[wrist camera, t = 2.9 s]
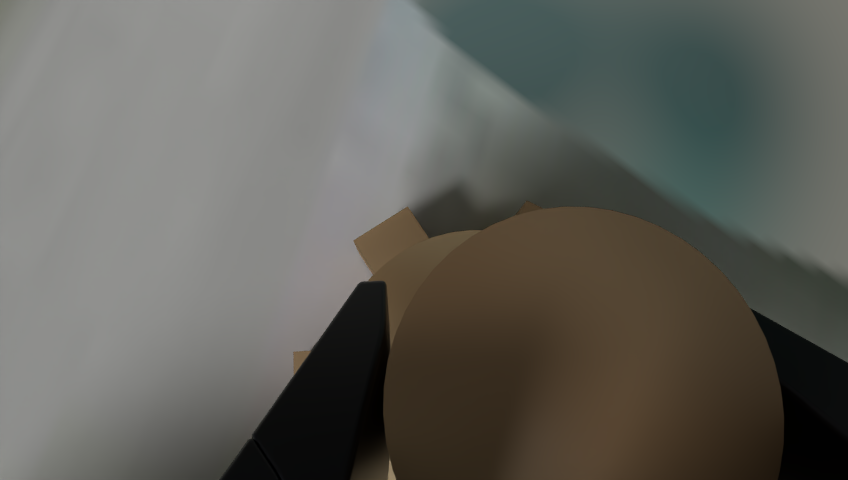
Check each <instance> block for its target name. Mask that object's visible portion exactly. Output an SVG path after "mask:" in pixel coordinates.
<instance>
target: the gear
mask: <svg viewBox="0 0 848 480" xmlns="http://www.w3.org/2000/svg"><path fill="white" fill-rule="evenodd" d="M354 243H355V245H356V247H357V250H358V252H359V254H360V255H361V257H362V258H363V260H364V262H365V263H366V265H367V266H368V268H369V269H370V271H371V272H372V274H373V276H372V277H371V278H370V279H369V281H384V282H385V283H386V285H387V296H388V309H389V324H390V346H391V351H390V354H389V358H388V362H387V369H386V376H385V383H384V403H383V417H384V426H385V436H386V444H387V448H388V452H389V456H390V462H389V472H388V480H778V476H779V472H780V467H781V460H782V452H783V445H784V411H783V402H782V394H781V387H780V383H779V379H778V374H777V370H776V366H775V362H774V359H773V357H772V354H771V351H770V349H769V346H768V343H767V340H766V338H765V336H764V334H763V332H762V330H761V328H760V326H759V324H758V322H757V320H756V318H755V316H754V314H753V312H752V311H751V309H750V308H749V306H748V305H747V303H746V302H745V300H744V299H743V297H742V296H741V294H740V293H739V292H738V290H737V289H736V288H735V287H734V286H733V284H732V283H731V282H730V281H729V280H728V279H727V277H726V276H725V275H724V274H723V273H722V272H721V271H720V270H719V269H718V268H717V267H716V266H715V265H714V264H713V263H712V262H711V261H710V260H708V259H707V258H706V257H705V256H704V255H703V254H702V253H701V252H699V251H698V250H696V249H695V248H694V247H692V246H691V245H690V244H688V243H687V242H685V241H684V240H683V239H681V238H679V237H678V236H676V235H674V234H672V233H670V232H669V231H667V230H665V229H663V228H661V227H660V226H657V225H655V224H652V223H650V222H648V221H645V220H643V219H640V218H638V217H635V216H631V215H627V214H624V213H620V212H616V211H613V210H606V209H599V208H592V207H556V208H547V209H543V208H541V207H539V206H537V205H535V204H533V203H531V202H529V201H526V202H525V203H524V205H523V206H522V207H521V208H520V210H519V211H518V212H517V214H516V215H515V216H513V217H510V218H508V219H505V220H503V221H500V222H498V223H495V224H493V225H491V226H489V227H487V228H485V229H484V230H467V231H458V232H451V233H447V234H443V235H439V236H435V237H432V238H429V237H428V236H427V234H426V233H425V232H424V230H423V229H422V227H421V226H420V224H419V223H418V221H417V220H416V218H415V217H414V215H413V214H412V212H411V211H410V209H409V208H408V207H406V208H404V209H403V210H401V211H400V212H398V213H397V214H395V215H393V216H392V217H390V218H389V219H387V220H385V221H384V222H382V223H381V224H379V225H377V226H376V227H374V228H373V229H371V230H370V231H368V232H366V233H365V234H363V235H362V236H360V237H358V238H357V239H355V240H354ZM310 352H311V351H300V352H294V375H295V373H296V372H297V370H298V369H299V367H300V366H301V365H302V363H303V362H304V360H305V359H306V357H307V356H308V355H309V353H310Z"/></svg>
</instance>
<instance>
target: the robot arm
mask: <svg viewBox="0 0 848 480" xmlns="http://www.w3.org/2000/svg"><path fill="white" fill-rule="evenodd" d="M750 309H751V308H750ZM751 311H752V312H753V314H754V316H755V318H756V320H757V322H758V324H759V326H760V328H761V330H762V332H763V334H764V336H765V338H766V340H767V343H768V346H769V349H770V351H771V354H772V357H773V359H774V362H775V366H776V370H777V374H778V379H779V383H780V387H781V394H782V402H783V411H784V445H783V452H782V460H781V467H780V472H779V476H778V480H848V363H847V362H845V361H843V360H842V359H840V358H838V357H836V356H835V355H833V354H831V353H829V352H827V351H826V350H824V349H822V348H820V347H818V346H817V345H815V344H813V343H811V342H810V341H808V340H806V339H804V338H802V337H801V336H799V335H797V334H795V333H794V332H792V331H790V330H788V329H786V328H785V327H783V326H781V325H779V324H777V323H776V322H774V321H772V320H770V319H769V318H767V317H765V316H763V315H761V314H760V313H758V312H756V311H754V310H752V309H751ZM390 351H391V346H390V324H389V309H388V296H387V285H386V283H385V282H384V281H365V282H360V283H359V284H358V285H357V286H356V288H355V289H354V291H353V292H352V294H351V295H350V296H349V298H348V299H347V301H346V302H345V303H344V305H343V306H342V308H341V309H340V311H339V312H338V313H337V315H336V316H335V318H334V319H333V321H332V322H331V323H330V325H329V326H328V328H327V329H326V330H325V332H324V333H323V335H322V336H321V338H320V339H319V340H318V342H317V343H316V345H315V346H314V348H313V349H312V350H311V352H310V353H309V355H308V356H307V357H306V359H305V360H304V362H303V363H302V365H301V366H300V367H299V369H298V370H297V372H296V373H295V375H294V376H293V377H292V379H291V380H290V382H289V383H288V384H287V386H286V387H285V389H284V390H283V392H282V393H281V394H280V396H279V397H278V399H277V400H276V402H275V403H274V404H273V406H272V407H271V409H270V410H269V411H268V413H267V414H266V416H265V417H264V419H263V420H262V421H261V423H260V424H259V426H258V427H257V429H256V430H255V431H254V433H253V434H252V439H249V440H248V441H247V442H246V444H245V445H244V447H243V448H242V449H241V451H240V452H239V454H238V455H237V457H236V458H235V460H234V461H233V462H232V464H231V465H230V466H229V468H228V469H227V470H226V472H225V473H224V474H223V476H222V477H221V478H220V480H388V472H389V462H390V456H389V452H388V448H387V444H386V436H385V426H384V417H383V403H384V383H385V376H386V369H387V362H388V358H389V354H390Z"/></svg>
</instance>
